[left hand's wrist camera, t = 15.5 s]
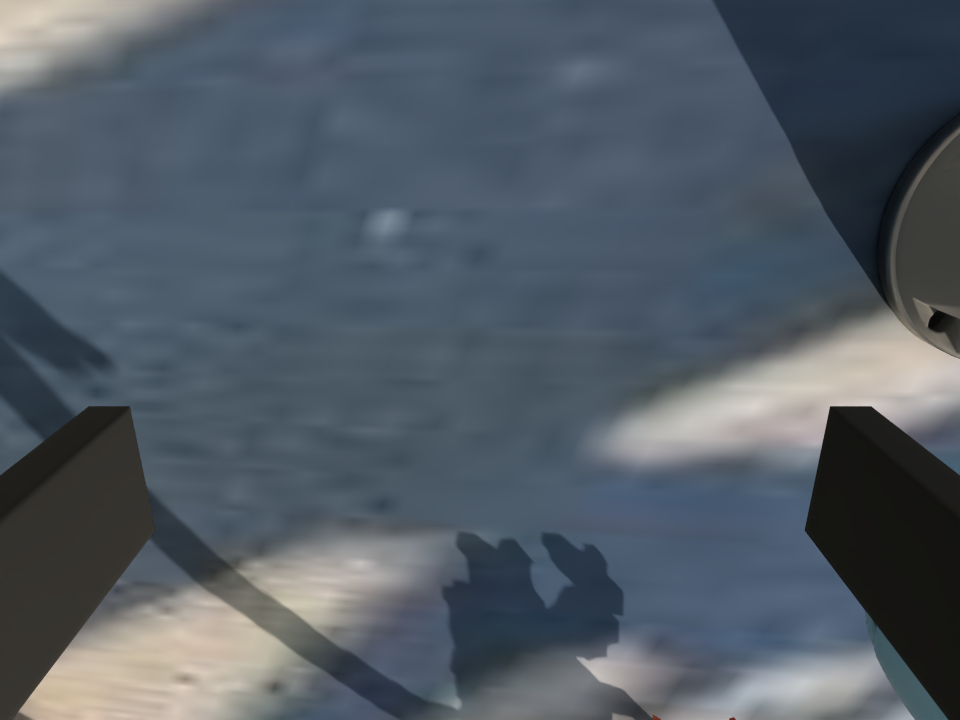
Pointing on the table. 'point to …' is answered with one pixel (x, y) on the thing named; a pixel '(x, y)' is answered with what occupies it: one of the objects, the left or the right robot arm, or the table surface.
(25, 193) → the table surface
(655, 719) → the toy
